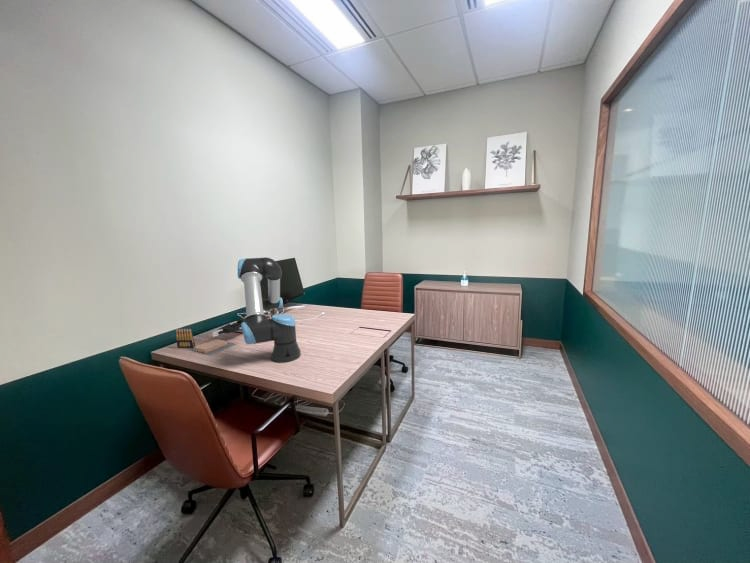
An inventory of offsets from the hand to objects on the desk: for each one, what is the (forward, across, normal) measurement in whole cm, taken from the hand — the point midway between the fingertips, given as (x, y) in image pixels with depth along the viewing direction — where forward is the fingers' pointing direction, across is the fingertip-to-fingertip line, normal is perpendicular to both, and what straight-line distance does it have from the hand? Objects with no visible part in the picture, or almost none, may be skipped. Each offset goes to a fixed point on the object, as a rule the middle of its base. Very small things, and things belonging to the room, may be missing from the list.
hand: (212, 334), depth 176 cm
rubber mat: (0, 0, -8) cm, 8 cm away
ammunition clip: (+7, +15, -8) cm, 19 cm away
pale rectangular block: (-5, 0, -6) cm, 8 cm away
